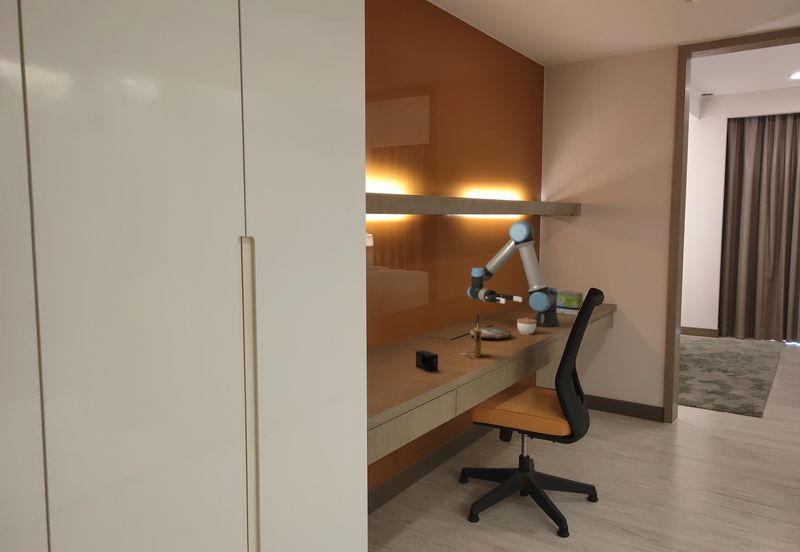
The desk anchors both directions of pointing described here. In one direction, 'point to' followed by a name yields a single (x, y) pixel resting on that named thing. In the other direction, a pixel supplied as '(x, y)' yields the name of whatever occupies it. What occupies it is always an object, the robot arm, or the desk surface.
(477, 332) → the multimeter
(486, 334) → the turntable
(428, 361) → the digital camera
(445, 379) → the desk surface
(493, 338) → the turntable pedestal
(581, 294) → the tea box
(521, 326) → the lidded jar
